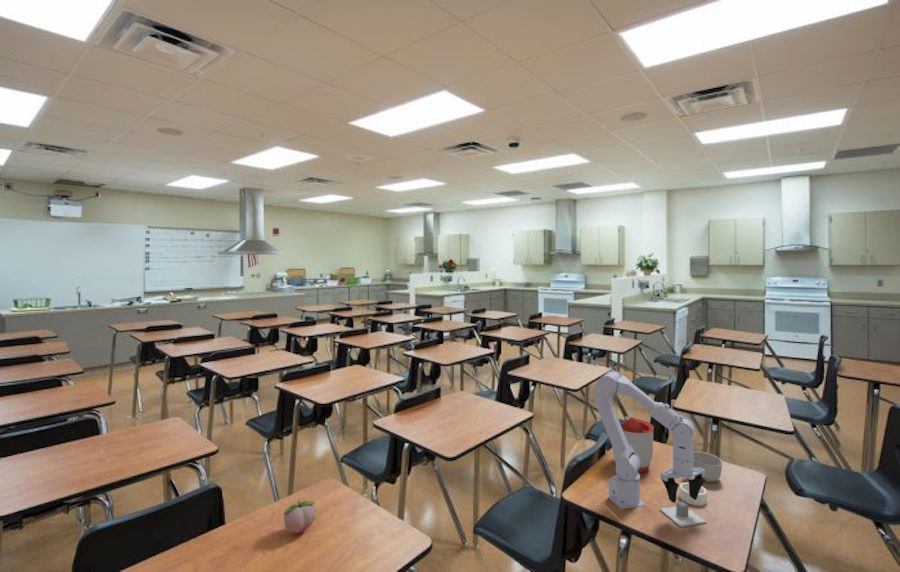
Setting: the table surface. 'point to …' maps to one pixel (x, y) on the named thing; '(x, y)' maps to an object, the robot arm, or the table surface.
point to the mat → (684, 526)
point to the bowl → (686, 497)
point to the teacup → (708, 465)
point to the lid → (682, 515)
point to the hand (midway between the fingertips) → (682, 499)
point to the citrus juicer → (639, 440)
